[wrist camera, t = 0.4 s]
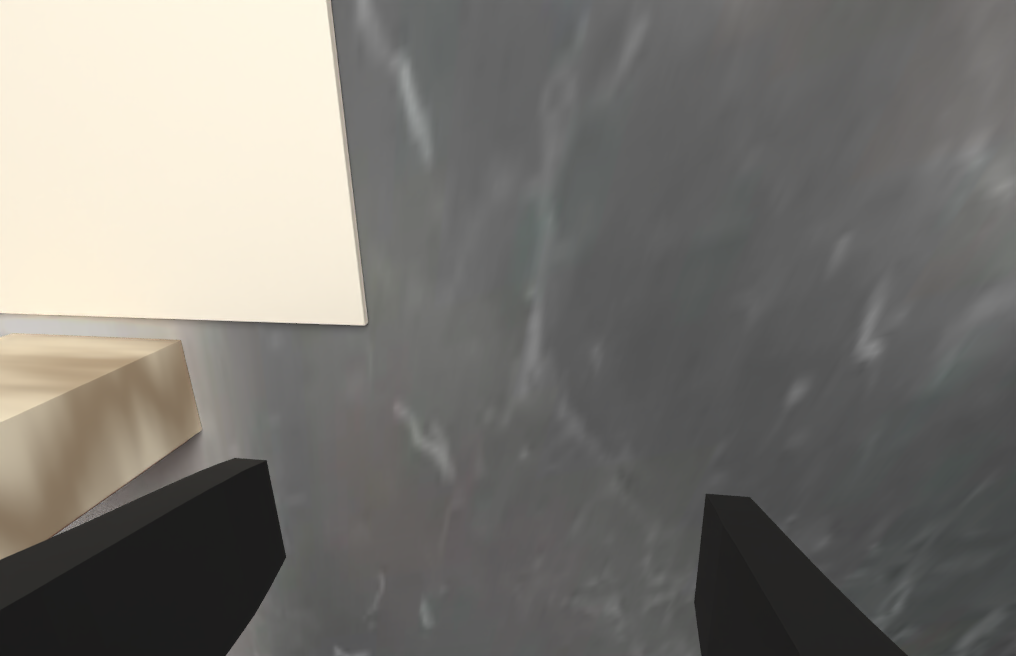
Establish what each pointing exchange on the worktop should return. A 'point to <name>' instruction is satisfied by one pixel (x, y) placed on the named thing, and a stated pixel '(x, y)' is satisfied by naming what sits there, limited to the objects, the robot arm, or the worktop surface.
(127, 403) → the marked block
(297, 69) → the mat
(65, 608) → the robot arm
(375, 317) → the worktop surface
